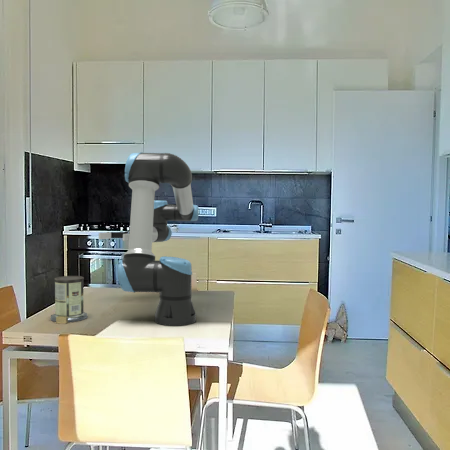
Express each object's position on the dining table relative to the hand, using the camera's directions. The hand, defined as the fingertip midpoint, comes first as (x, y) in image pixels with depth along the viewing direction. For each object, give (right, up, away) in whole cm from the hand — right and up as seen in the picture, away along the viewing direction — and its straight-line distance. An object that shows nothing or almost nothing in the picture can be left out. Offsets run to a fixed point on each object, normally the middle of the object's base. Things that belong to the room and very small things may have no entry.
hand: (111, 236), depth 191 cm
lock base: (-11, -30, -17) cm, 36 cm away
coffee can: (-11, -29, -17) cm, 36 cm away
